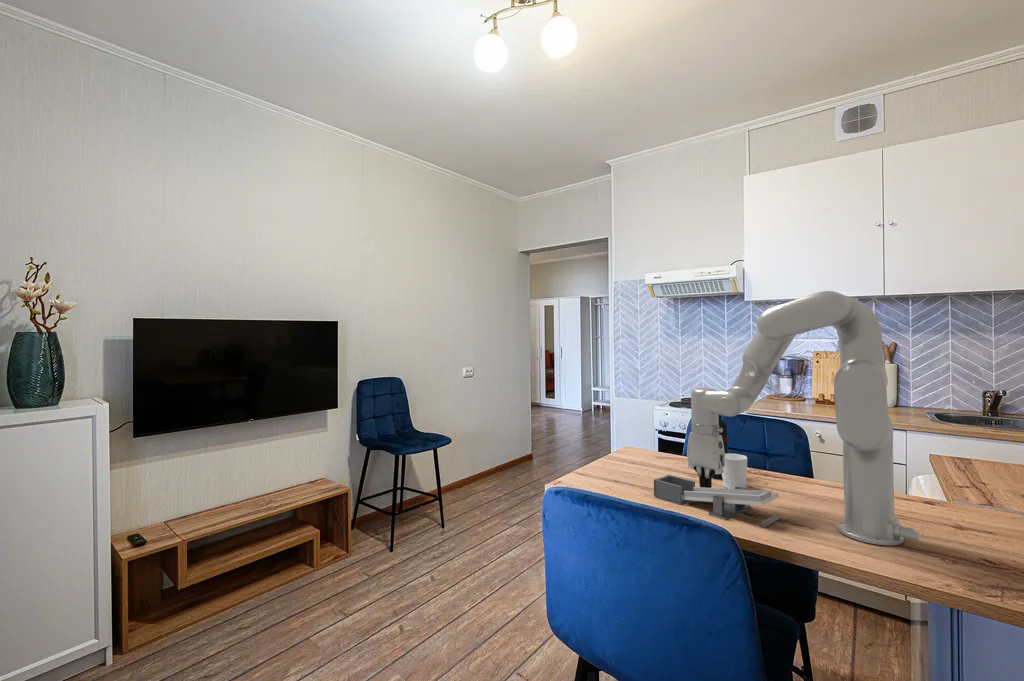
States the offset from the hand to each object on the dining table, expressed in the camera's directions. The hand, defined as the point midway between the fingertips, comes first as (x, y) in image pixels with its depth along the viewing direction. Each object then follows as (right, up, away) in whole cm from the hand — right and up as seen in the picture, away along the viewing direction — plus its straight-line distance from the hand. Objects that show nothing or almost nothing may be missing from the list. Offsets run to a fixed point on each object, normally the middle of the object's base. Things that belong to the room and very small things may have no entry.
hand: (705, 489), depth 134 cm
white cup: (+14, -3, +11) cm, 18 cm away
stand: (+3, -3, -9) cm, 10 cm away
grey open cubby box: (-9, -3, +2) cm, 9 cm away
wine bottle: (+13, -3, +23) cm, 27 cm away
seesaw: (+3, +1, -9) cm, 10 cm away
